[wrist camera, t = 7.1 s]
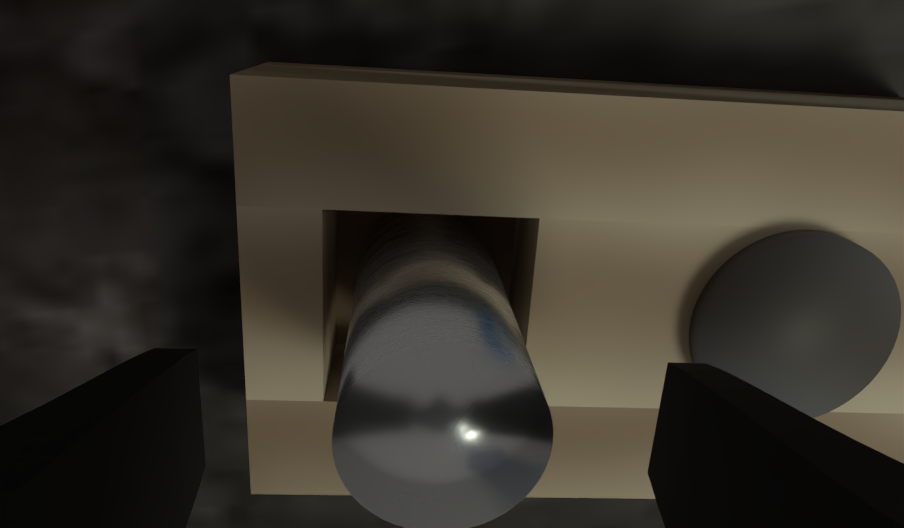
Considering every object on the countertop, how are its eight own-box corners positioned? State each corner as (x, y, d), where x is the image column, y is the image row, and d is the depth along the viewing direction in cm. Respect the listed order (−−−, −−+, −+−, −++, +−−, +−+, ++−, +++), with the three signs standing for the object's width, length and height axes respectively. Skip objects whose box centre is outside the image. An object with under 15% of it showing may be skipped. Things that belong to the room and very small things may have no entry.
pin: (485, 332, 17) (539, 533, 11) (356, 327, 17) (330, 530, 10) (498, 208, 16) (567, 347, 9) (360, 201, 16) (333, 339, 9)
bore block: (812, 419, 19) (908, 515, 16) (279, 408, 18) (245, 509, 15) (901, 97, 16) (1046, 121, 13) (268, 61, 15) (221, 76, 12)
